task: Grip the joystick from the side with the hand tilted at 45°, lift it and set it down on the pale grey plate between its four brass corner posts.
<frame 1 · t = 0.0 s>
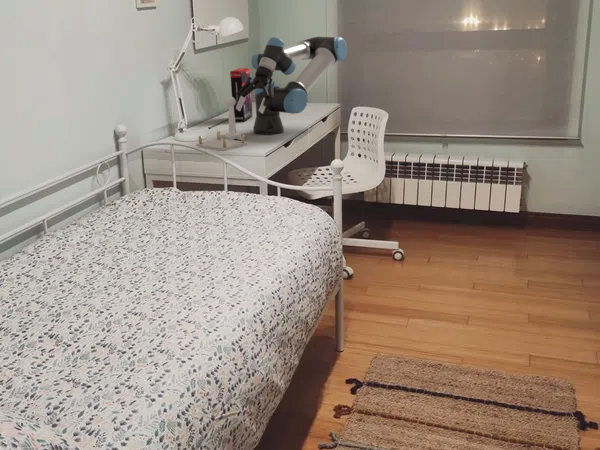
hand: (249, 111, 312), 15 cm above the table, tool tilted 35°, fingers open, 13 cm apart
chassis: (221, 145, 315), on the table
graphics card box: (242, 120, 383), on the table
joystick: (231, 140, 329), on the table
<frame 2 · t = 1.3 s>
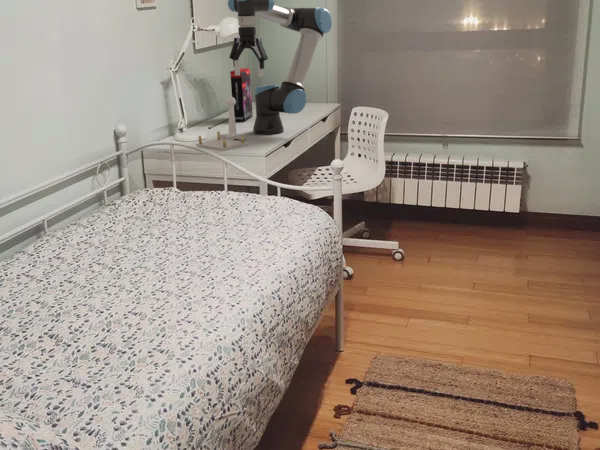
hand: (249, 75, 309), 31 cm above the table, tool pointing down, fingers open, 13 cm apart
nothing on the table moved.
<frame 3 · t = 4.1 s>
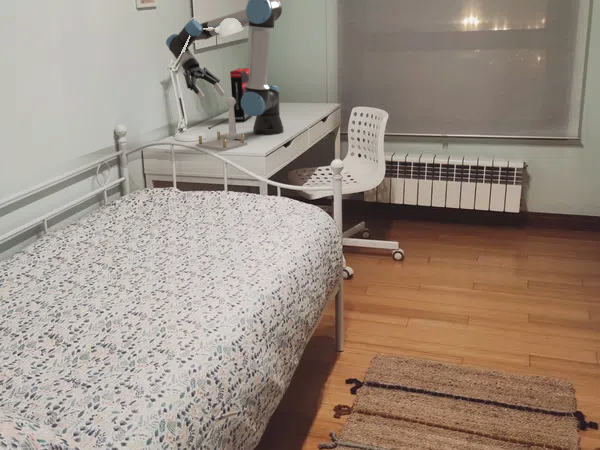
hand: (213, 96, 329), 20 cm above the table, tool tilted 45°, fingers open, 13 cm apart
nothing on the table moved.
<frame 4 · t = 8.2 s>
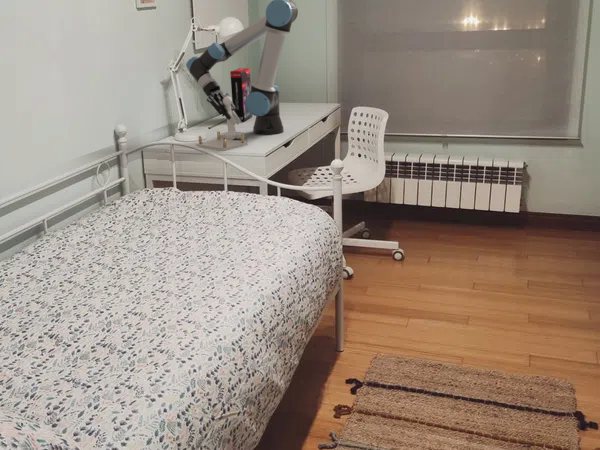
hand: (237, 123, 324), 8 cm above the table, tool tilted 45°, fingers closed on joystick, 2 cm apart
joystick: (231, 139, 329), on the table, touching gripper
everything else where it was.
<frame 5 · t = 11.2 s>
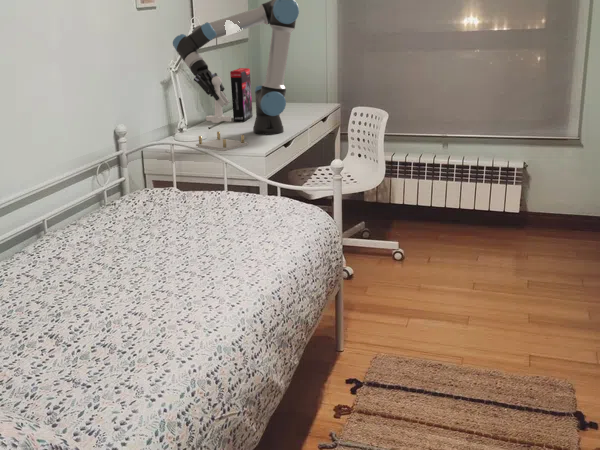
hand: (225, 104, 307), 19 cm above the table, tool tilted 45°, fingers closed on joystick, 2 cm apart
joystick: (217, 122, 311), point 11 cm above the table, touching gripper
everything else where it was.
when the fingers open (11 cm above the table, at t = 13.5 s): joystick drops 1 cm, resting on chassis.
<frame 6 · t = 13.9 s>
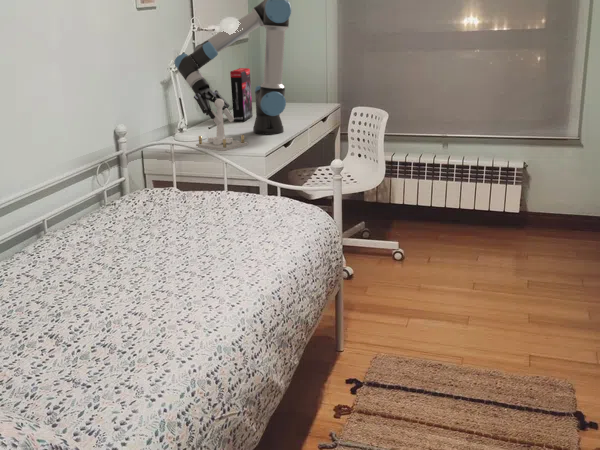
hand: (226, 122, 310), 11 cm above the table, tool tilted 45°, fingers open, 8 cm apart
joystick: (219, 143, 314), point 1 cm above the table, touching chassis
everything else where it was.
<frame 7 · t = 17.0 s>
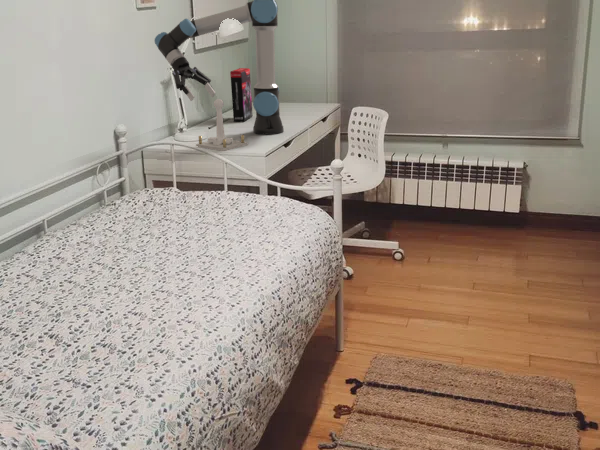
hand: (203, 97, 314), 21 cm above the table, tool tilted 45°, fingers open, 13 cm apart
nothing on the table moved.
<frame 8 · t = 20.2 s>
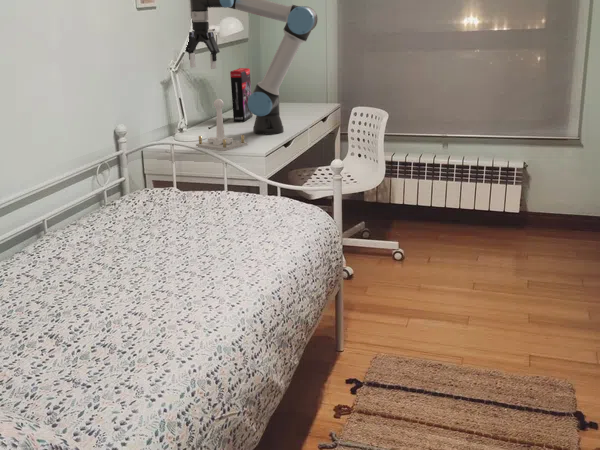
hand: (203, 68, 328), 33 cm above the table, tool pointing down, fingers open, 13 cm apart
nothing on the table moved.
at the end: joystick 1.4 cm off-centre on the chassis, point 1.0 cm above the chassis's base; joystick tilted 0°; the gripper is holding nothing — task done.
